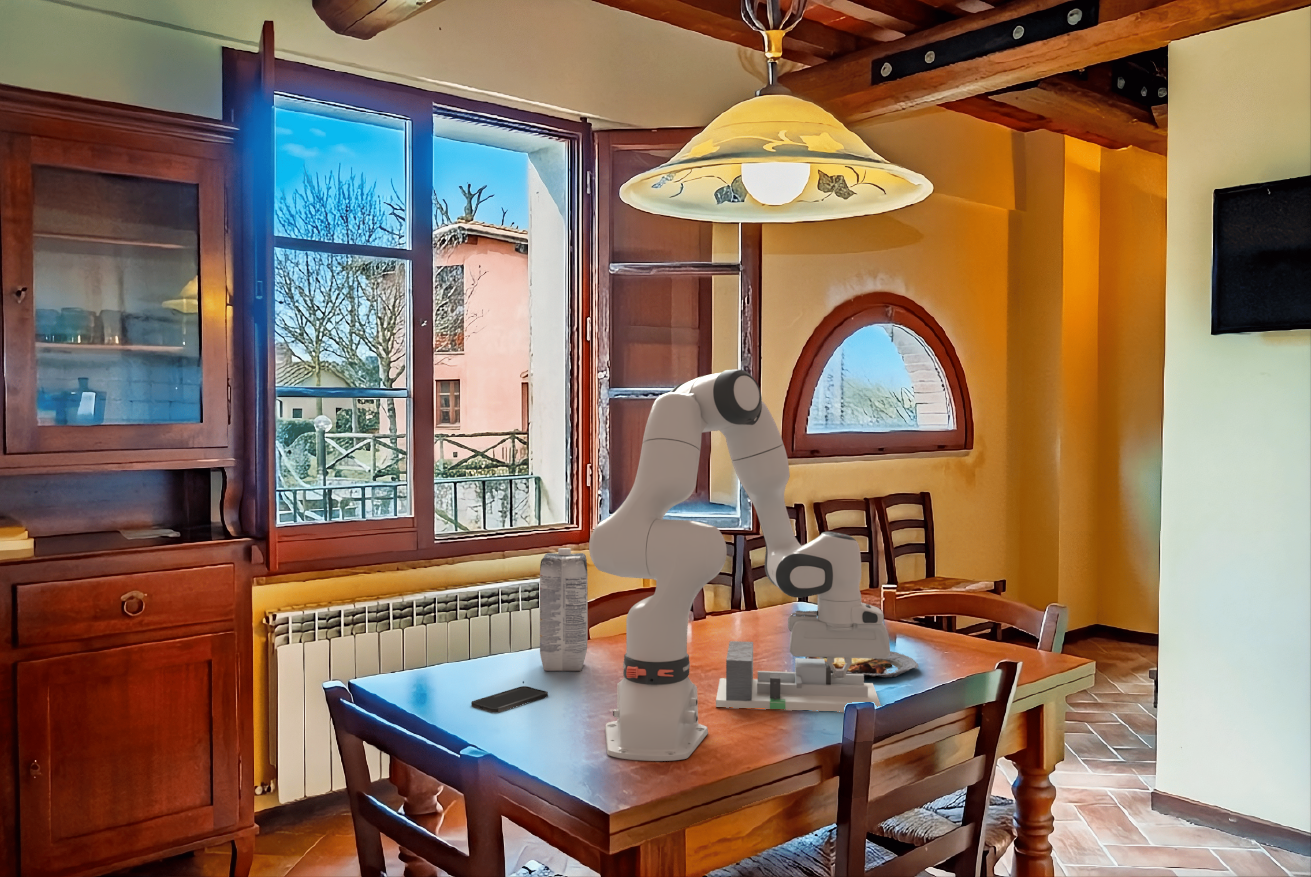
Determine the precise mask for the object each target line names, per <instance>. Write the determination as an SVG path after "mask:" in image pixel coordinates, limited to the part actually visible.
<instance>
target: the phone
mask: <svg viewBox="0 0 1311 877" xmlns="http://www.w3.org/2000/svg"><path fill="white" fill-rule="evenodd" d="M545 697H546V698H548V697H549V692H548V690H547V691H546V690H542V689H538V688H535V687H531V686H527V685H523V686H518V687H514V688H512V689H507V690H505V691H502V692H498V693H495V694H491V695H489V696H485V697H482V698H478V699H474V700H472V701H471V702H470V703H471V707H472V708H475V709H478V710H481V711H485V712H489V713H492V712H498V713H501V712H505V711H508V710H510V708H511V709H514V708H517V707H516V706H518V707H520V705H521V706H523V705H522V704H524V705H526V704H525V703H527V702H530V703H533V702H536V701H539V700H542V699H545ZM527 704H528V703H527ZM513 707H514V708H513ZM507 709H508V710H507ZM504 710H505V711H504Z"/></svg>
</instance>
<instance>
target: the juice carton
mask: <svg viewBox="0 0 1311 877" xmlns="http://www.w3.org/2000/svg"><path fill="white" fill-rule="evenodd" d="M571 549H572V548H570V547H569V548H567V547H566V548H564V547H562V548H558V549H557V553H553V552H547V553H545V554H544V556H543V557H542V559H541V560H540V563H539V564H540V565H539V567H540V569H539V655H540V659H541V664H542V668H543V671H545V672H546V671H547V672H561V671H562V672H580V671H582V669H583V666H584V662H585V660H586V654H587V651H588V562H587V559H588V558H587V556H586V554H585V553H583V552H578V553H571V552H572V551H571Z"/></svg>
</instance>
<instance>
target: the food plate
mask: <svg viewBox="0 0 1311 877" xmlns="http://www.w3.org/2000/svg"><path fill="white" fill-rule="evenodd" d="M804 659H824V661H825V662H827V657H804ZM833 665H834V667H835V669H842V668H843V667H844V665H845V661H844V658H834V663H833ZM892 667H894V668H895V669H894V670H895V671H893V670H892V669H889V668H892ZM918 668H919V664H918V663H917V661H916V660H915V659H914V658H912V657H910V656H908V655H905V654H903V653H900V652H895V651H892V650H890V655H889V656H888V657H887V658H886V659H874V658H852V664H851V665H850V667H849V668H848V670H847V671H846V674H863V675H864V676H867V678H869V679H870V677H872V678H873V677H874V678H875V677H876V676H877V677H879V678H892V677H894V678H896V677H897V676H899V675H901V674H903V673H906V672H908V671H910V670H912V669H918ZM831 672H832V669H831Z"/></svg>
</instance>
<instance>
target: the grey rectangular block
mask: <svg viewBox="0 0 1311 877" xmlns="http://www.w3.org/2000/svg"><path fill="white" fill-rule="evenodd" d="M725 664H726V665H725V666H726V667H725V673H726V674H725V678H726V700H727V701H746V700H749V701H750V700H752V687H753V679H754V641H739V640H738V641H736V640H735V641H734V640H730V641H729V643H728V648H727V655H726V663H725Z"/></svg>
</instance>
